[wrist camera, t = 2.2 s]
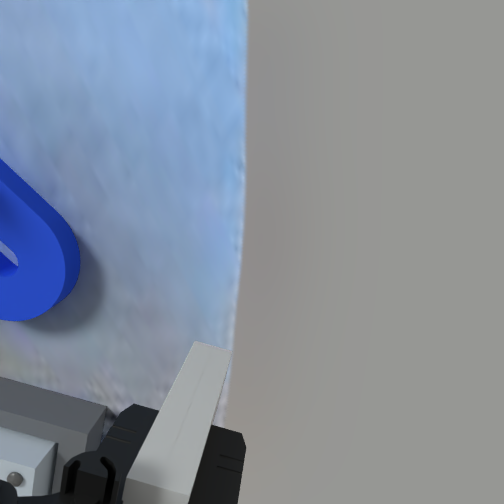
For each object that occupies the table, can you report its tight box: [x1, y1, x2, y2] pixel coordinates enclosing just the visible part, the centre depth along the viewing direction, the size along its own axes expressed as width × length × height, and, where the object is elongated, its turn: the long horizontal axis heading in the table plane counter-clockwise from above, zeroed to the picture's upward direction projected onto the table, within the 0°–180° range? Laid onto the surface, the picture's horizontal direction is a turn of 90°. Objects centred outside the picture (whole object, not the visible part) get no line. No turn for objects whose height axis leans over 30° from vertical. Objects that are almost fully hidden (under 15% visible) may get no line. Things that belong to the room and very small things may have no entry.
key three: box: [0, 427, 59, 496], centre depth 28 cm, size 5×5×4 cm
